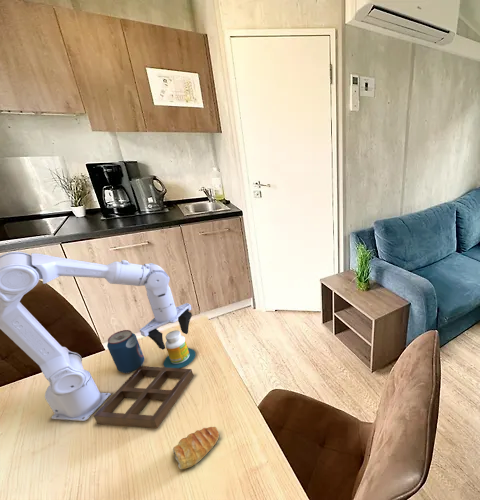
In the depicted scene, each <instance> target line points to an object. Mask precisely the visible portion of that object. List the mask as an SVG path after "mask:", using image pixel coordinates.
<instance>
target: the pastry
mask: <svg viewBox="0 0 480 500" xmlns="http://www.w3.org/2000/svg"><path fill="white" fill-rule="evenodd" d="M219 438H220V433H219V430H218V429H217V427H216V426H209V427H203V428H202V429H199V430H195V431H194V432H191V433H189V434H187V435H186V437H182V438H181V439H180V440H179V441H178V443H177V444H176V445H175V446H173V449H172V453H173V455H174V458H175V460H176V462H177V463H178V464H177V466H178V468H179V469H180V470H186V469H188V468H191V467H193V466H195V465H196V464H198V463H199V462H200V461H201V460H202V459H204V457H206V455H208V453H209V452H210V451H211V450H212V449H213V448H214V446H216V445H217V442H218V440H219Z"/></svg>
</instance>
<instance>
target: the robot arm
mask: <svg viewBox="0 0 480 500" xmlns="http://www.w3.org/2000/svg"><path fill="white" fill-rule="evenodd" d="M60 277H73V278H74V277H75V278H93V279H94V278H95V279H105V280H106V282H108V284H111V285H121V286H122V285H124V286H133V287H134V286H135V287H142V286H144V288H145V290H146V297H147V299H148V302H149V305H150V308H151V311H152V314H153V317H154V318H153V319H151V320H150V321H149V322H148V323H147V324H145V326H143V327H141V328H139V333H140V335H141V336H143V338H144V337H145V338H146V337H149V338H150V339H151V340H152V341H153V342H154V343H155V344H156V346H157V348H158V349H160V350H162V351H163V350H165V349H166V346H165V343H164V342H165V341H164V338H163V332H161V331H159V328H160V327H161V328H162V327H163V326H166V325H169V324H175V323H176V322H178V324H179V328H180V332H181V333H183V334H185V335H188V334H189V327H190V321H191V318H192V316H193V315H192V312H191V311H192V305H191V304H190V303H188V302H185V303H184V304H181V305H177V306H176V304H175V303H176V302H175V300H174V297H173V293H172V290H171V289H172V288H171V287H170V285H169V283H170V280H171V279H170V276H169V275H168V273H167V272H166V271H165V270H164V268H163V267H162V266H160V265H159V264H156V263H153V262H151V263H144V264H138V263H132V262H129V261H128V260H125V259H121V261H118V260H117V261H113V262H111V263H108V264H103V263H96V262H90V261H84V260H78V259H72V258H65V257H59V256H53V255H48V254H43V253H37V252H36V253H35V252H34V253H33V252H32V253H31V254H30V253H27V252H24V251H10V252H7V253H3V254H1V255H0V330H1V331H2V332H3V333H4V335H6V336H7V337H8V338H9V339H10V340H11V341H13V343H14V344H15V345H16V346H18V347H19V348H20V349H21V351H23V352H24V353H25V354H26V355H27V356H28V357H29V358H30V359H31V360H33V362H34V363H36V364H37V366H38V367H39V368H40V370H41V372H42V375H43V376H44V378H45V379H46V380H47V381H48V383H49V385H48V387H47V388H46V390H45V392H44V399H45V401H46V403H47V404H48V406H49V407H50V409H51V410H52V412H53V415H52V416H51V417H50V418H51V419H52V420H61V421H77V422H86V421H88V420H89V419H90V417H91V416H92V415H94V414H95V413H96V412H97V411H98V410H99V409H100V408H101V407H102V406H103V405H104V404H105V402H106V401H107V400H108V399H109V398H110V397H111V396H112V394H111V393H110V392H101V391H100V390H99V388H98V386H97V384H96V382H95V380H94V378H93V376H92V374H91V372H90V371H89V370H87V369H85V368H84V365H83V357H82V356H81V355H80V354H79V353H78V352H75V351H71V350H69V349H68V348H67V347H66V346H62V345H61V344H60V343H59V342H58V341H57V340H56V338H54V336H52V335H51V333H50V332H49V331H48V330H47V329H46V328H45V327H44V326H43V325H42V323H40V321H38V319H37V318H36V317H35V316H34V315H33V314H32V313H31V312H30V311H29V310H28V309H27V308H26V306H24V305H23V304H22V302H21V300H22V299H23V297H24V295H26V294H27V293H29V292H30V291H31V290H33V289H34V288H35V287H36V286H37V285H38V283H39V282H40V280H42V284H43V285H44V284H48V283H49V282H51V281H53V280H55V279H57V278H60Z"/></svg>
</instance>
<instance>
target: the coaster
mask: <svg viewBox="0 0 480 500" xmlns="http://www.w3.org/2000/svg"><path fill="white" fill-rule="evenodd" d="M188 351H189V358H188V359H187V360H186V361H184V362H182V363H179V364H173V363H171V361H170V358H169V355H167V356H166V358H165V359H164V361H163V367H166V368H183V369H184V368H185V367H187V366H189V365H190V364H191V363H192V362H193V361H194V360H195V358H196V351H195V350H194V349H193V348H189V347H188Z"/></svg>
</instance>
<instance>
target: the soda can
mask: <svg viewBox="0 0 480 500" xmlns="http://www.w3.org/2000/svg"><path fill="white" fill-rule="evenodd" d="M106 347H107V349H108V352H109V354H110V356H111V359H112V361H113V363H114V365H115V367H116V369H117V372H119V373H123V374H131V373H134V372H135V371H136V370H137V369H138V368H139V367H140V366H143V364H144V362H145V355H144V352H143V351H142V348H141V345H140V343H139V340H138V338H137V334H135V333H134V332H132V331H131V330H130V329H123V330H119V331H116V332H115V333H113V334H111V335H110V336H109V337H108V338H107V345H106Z"/></svg>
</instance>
